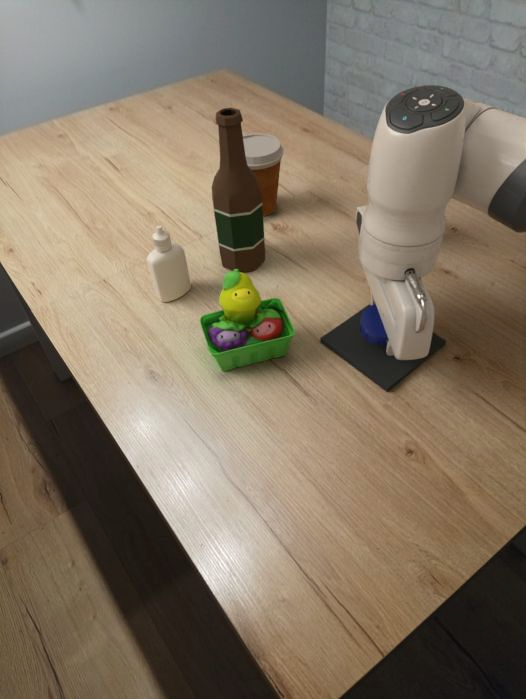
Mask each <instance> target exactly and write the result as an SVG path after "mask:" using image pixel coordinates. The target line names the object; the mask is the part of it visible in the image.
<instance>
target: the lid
mask: <svg viewBox="0 0 526 699" xmlns="http://www.w3.org/2000/svg"><path fill="white" fill-rule="evenodd" d="M360 331H361V333H362V335H363V336H364V337H365V338H366V339H367V340H368V341H370V342H371V343H374V344H376V345H381V346H384V345H385V339H386V338H388V336H387V334H386V331H385V328H384V325H383V323H382V320H381V317H380V315H379V312H378V309H377V306H376V304H373V305H371V306H369V307H367V308H366V309H365V310H364V311H363V313H362V315H361V321H360Z"/></svg>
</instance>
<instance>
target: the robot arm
mask: <svg viewBox="0 0 526 699" xmlns="http://www.w3.org/2000/svg"><path fill="white" fill-rule="evenodd" d="M375 128H376V129H375V132H374V136H373V139H372V144H371V150H370V155H369V161H368V169H367V176H366V192H367V197H368V200H367V204H366V205H360V206H357V207H356V210H355V223H356V227H357V230H358V231H357V232H358V234H357V253H358V259H359V262H360V265H361V268H362V270H363V274H364V276H365V279H366V282H367V284H368V287H369V291H370V303H371V305H373V304H376V306H377V309H378V312H379V315H380V317H381V320H382V323H383V325H384V328H385V331H386V334H387V336H388V338H386V339H385V345H384V346H385V349H386V352H387V355H389V356H392V355H394V356H395V358H396V359H398V360H414V359H420V358H423V357H426V356H427V355H428V353H429V349H430V344H431V339H432V333H434V328H435V306H434V302H433V300H432V298H431V296H430V294H429V292H428V289H427V287H426V285H425V283H424V281H423V279H422V278H423V277H425V276H427V275H428V274H429V273H431V272H432V271H433V270H434V269H435V267H436V265H437V262H438V259H439V255H440V254H439V253H440V250H441V246H442V241H443V238H444V234H445V230H446V222H447V221H446V220H447V219H446V209H447V206H448V204H449V203H450V201H451V200H454V201H457V202H459V203H460V204H464V205H465V206H468V207H470V208H473V209H475V210H476V211H479V212H481V213H484V214H486V215H487V216H488V217H489V218H491V219H492V220H494V221H496V222H498V223H499V224H501V225H503V226H505V227H506V228H508V229H510V230H511V231H514V232H515V233H517V234H518V233H519V234H521V233H526V117H524V116H521V115H518V114H514V113H511V112H508V111H504V110H501V109H499V108H497V107H495V106H492V105H488V104H486V103H483V102H479V101H476V100H474V99H473V100H472V99H470V98H465V97H463V96H462V95H461V94H460V93H459V92H457V91H456V90H455V89H452V88H450V87H448V86H443V85H437V84H436V85H434V84H432V85H431V84H426V85H418V86H413V87H410V88H407V89H405V90H402V91H400V92H398V93H396V94H395V95H393V96H392V97H391V98H390V99H389V100H388V101H387V102H386V104H385V105H384V107H383V109H382V112H381V114H380V116H379V119H378V121H377V125H376V127H375ZM371 305H370V306H371Z"/></svg>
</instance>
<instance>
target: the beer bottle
mask: <svg viewBox="0 0 526 699" xmlns="http://www.w3.org/2000/svg"><path fill="white" fill-rule="evenodd" d="M243 121H244V119H243V115H242V113H241V109H239V108H234V107H225V108H221V109H219V110H217V112H215V124H216V125H217V127H218V144H219V145H218V147H219V166H218V167H219V168H218V169H217V172H216V173H215V174H214V176H213V180H212V183H211V184H212V185H211V199H212V200H211V201H212V206H213V213H214V222H215V226H216V227H215V228H216V235H217V243H218V250H219V255H220V261H221V266H222V267H223V268H225V269H227V270H229V271H230V272H234V269H239V272H242V273H247V272H254V271H256V270H257V269H258V268H259V267H260V266H261V265H262V264H263V263H264V262H265V261H266V242H265V226H264V225H265V224H264V216H263V206H262V197H261V190H260V187H259V184H258V181H257V178H256V176H255V174H254V172H253V171H252V170H251V169H250V168H249V166H248V165H247V162H246V156H245V149H244V142H243V135H244V134H243V128H242V127H243V126H242V122H243Z"/></svg>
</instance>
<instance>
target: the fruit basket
mask: <svg viewBox="0 0 526 699" xmlns="http://www.w3.org/2000/svg"><path fill="white" fill-rule="evenodd" d="M218 303H219V306H220V307H221V310H218V311H213V312H209V313H206V314H203V315H201V316H200V317H199V324H200V326H201V329H202V333H203V336H204V340H205V343H206V346H207V350H208V352H209V354H210V355H211V356H212V357H213V358H214V360H215V361H216V363H217V365H218V367H219V369H220V371H222V372H226V371H230V370H234V369H235V368H242V367H247V366H250V365H252V364H254V363H261V362H266V361H269V360H271V359H276V358H281V357H284V356H286V354H287V352H288V350H289V347H290V344H291V341H292V339H293V338H294V336H295V334H296V329H295V327H294V325H293V323H292V320H291V318H290V316H289V314H288V312H287V311H286V308H285V305H284V304H283V302H282V300H281V299H280V298H278V297H271V298H268V299H263V300H262V297H261V294H260V293H259V290H258V289H257V288H256V287H255V285H254V284H253V281H252V279H251V277H250V276H249V275H248V274H246V273H245V272H239V269H234V272H233V271H228V272H227V273H225V275H224V277H223V282H222V290H221V291H220V294H219V299H218Z"/></svg>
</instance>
